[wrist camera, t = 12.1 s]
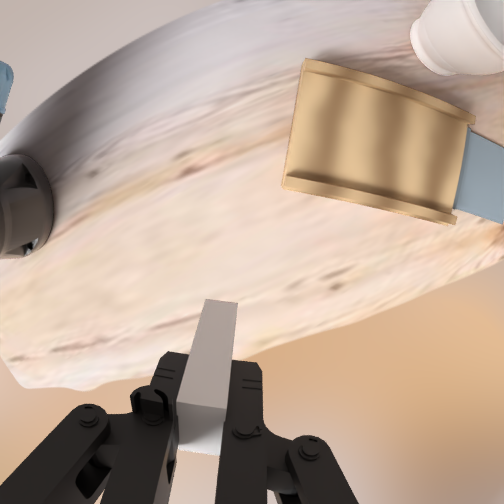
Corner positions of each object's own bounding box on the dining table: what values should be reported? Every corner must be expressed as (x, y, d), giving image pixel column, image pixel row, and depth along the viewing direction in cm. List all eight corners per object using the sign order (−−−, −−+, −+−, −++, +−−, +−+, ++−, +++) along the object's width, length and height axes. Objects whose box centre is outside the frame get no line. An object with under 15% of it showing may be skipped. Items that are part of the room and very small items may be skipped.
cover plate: (438, 202, 35) (448, 207, 32) (452, 125, 32) (463, 125, 29) (497, 222, 35) (508, 227, 33) (511, 154, 32) (523, 156, 29)
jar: (400, 0, 26) (455, -51, 12) (465, 26, 26) (533, -3, 12) (401, 70, 30) (470, 39, 15) (468, 94, 29) (546, 84, 15)
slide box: (281, 185, 35) (283, 191, 30) (301, 66, 30) (307, 54, 26) (434, 219, 35) (453, 229, 30) (454, 114, 31) (476, 112, 26)
